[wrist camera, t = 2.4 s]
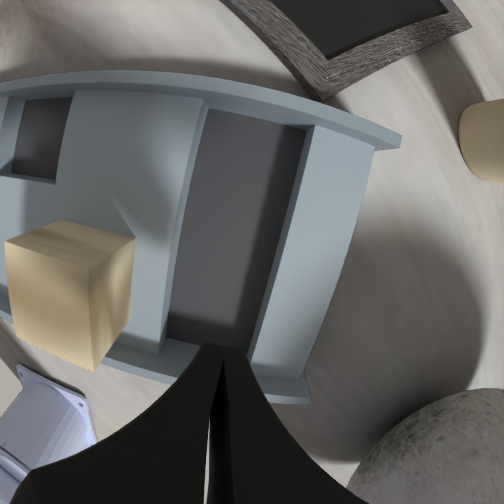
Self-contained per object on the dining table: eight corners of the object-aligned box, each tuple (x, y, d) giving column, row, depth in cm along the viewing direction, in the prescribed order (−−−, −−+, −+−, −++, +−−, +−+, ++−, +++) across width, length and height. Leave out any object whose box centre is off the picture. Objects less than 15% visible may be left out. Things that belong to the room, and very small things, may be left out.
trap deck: (298, 368, 17) (307, 405, 13) (-42, 260, 14) (-66, 271, 11) (369, 142, 13) (402, 135, 10) (-31, 103, 10) (-57, 100, 7)
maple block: (129, 320, 13) (94, 371, 9) (61, 297, 13) (16, 336, 9) (136, 237, 12) (89, 269, 8) (62, 220, 12) (4, 240, 8)
